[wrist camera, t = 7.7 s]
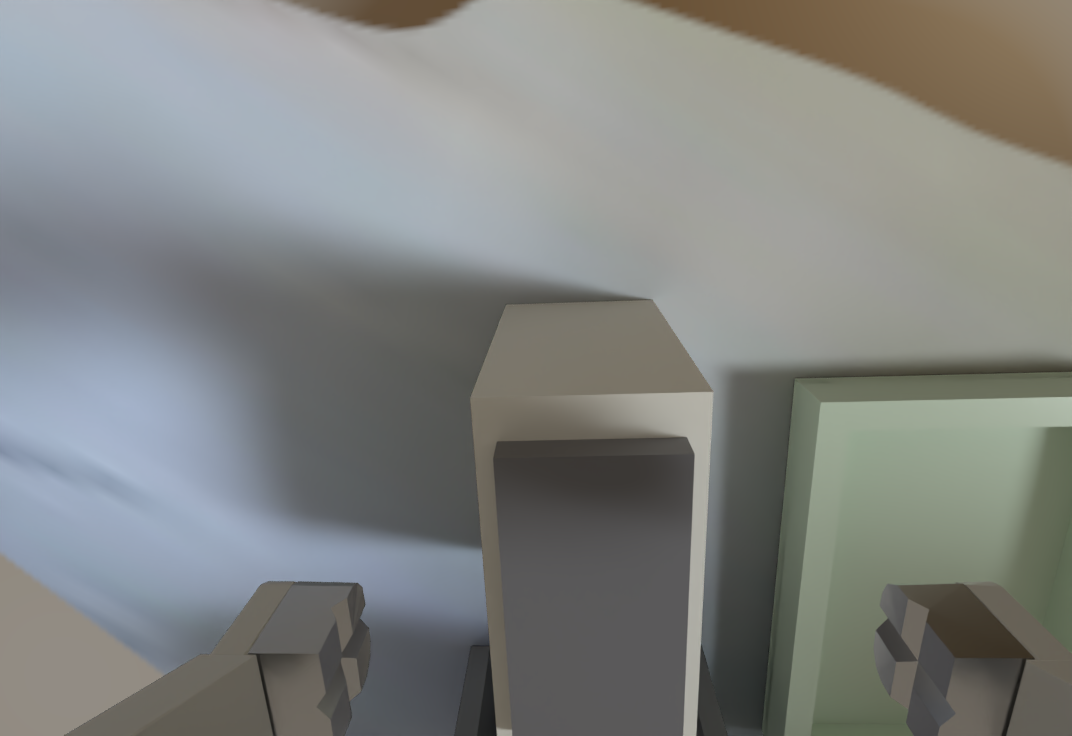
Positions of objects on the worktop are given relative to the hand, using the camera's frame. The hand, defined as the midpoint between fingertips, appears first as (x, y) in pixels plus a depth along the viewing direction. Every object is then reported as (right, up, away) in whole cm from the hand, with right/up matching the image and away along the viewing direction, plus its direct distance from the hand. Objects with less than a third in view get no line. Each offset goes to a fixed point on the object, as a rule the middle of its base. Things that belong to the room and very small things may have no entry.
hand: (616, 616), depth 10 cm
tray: (+14, -4, +14) cm, 20 cm away
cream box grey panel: (0, +1, +13) cm, 13 cm away
